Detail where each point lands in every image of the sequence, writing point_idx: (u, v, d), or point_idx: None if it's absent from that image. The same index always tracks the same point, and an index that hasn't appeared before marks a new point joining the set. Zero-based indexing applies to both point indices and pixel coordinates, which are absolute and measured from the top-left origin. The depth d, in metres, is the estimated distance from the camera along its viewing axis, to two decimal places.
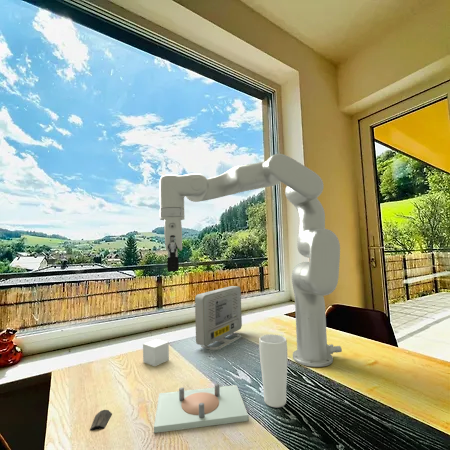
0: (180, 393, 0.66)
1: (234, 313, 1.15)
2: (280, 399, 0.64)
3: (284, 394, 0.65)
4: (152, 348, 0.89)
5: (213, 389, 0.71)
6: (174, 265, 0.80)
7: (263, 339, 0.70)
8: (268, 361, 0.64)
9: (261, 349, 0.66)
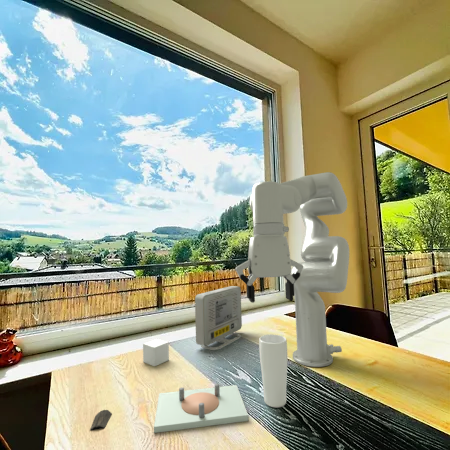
0: (180, 393, 0.66)
1: (234, 313, 1.15)
2: (280, 399, 0.64)
3: (284, 394, 0.65)
4: (152, 348, 0.89)
5: (213, 389, 0.71)
6: None
7: (263, 339, 0.70)
8: (268, 361, 0.64)
9: (261, 349, 0.66)
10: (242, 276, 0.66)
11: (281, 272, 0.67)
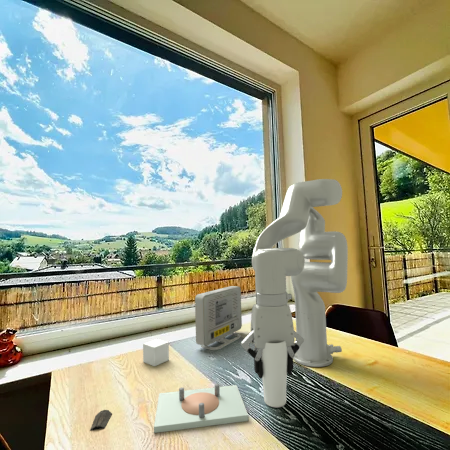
0: (180, 393, 0.66)
1: (234, 313, 1.15)
2: (280, 399, 0.64)
3: (284, 394, 0.65)
4: (152, 348, 0.89)
5: (213, 389, 0.71)
6: None
7: None
8: (268, 361, 0.64)
9: None
10: (250, 351, 0.65)
11: None
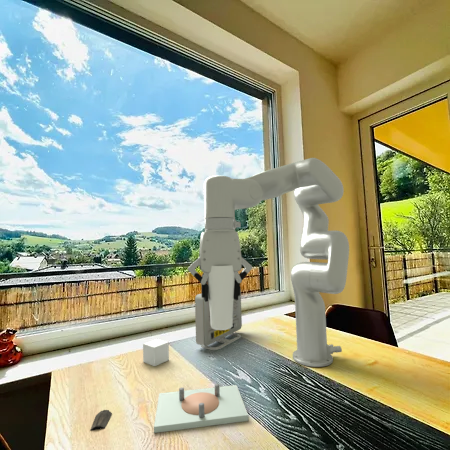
0: (180, 393, 0.66)
1: (234, 313, 1.15)
2: (225, 322, 0.64)
3: (229, 317, 0.65)
4: (152, 348, 0.89)
5: (213, 389, 0.71)
6: None
7: None
8: (213, 283, 0.64)
9: None
10: (196, 275, 0.65)
11: None
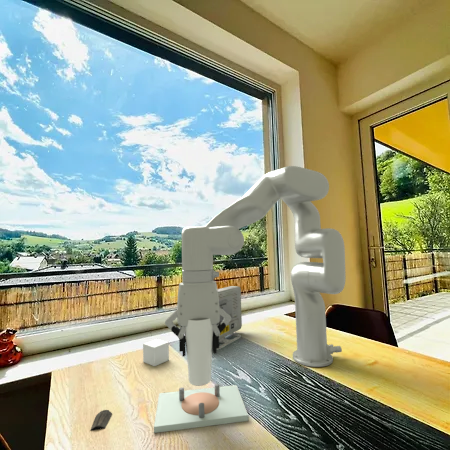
0: (180, 393, 0.66)
1: (234, 313, 1.15)
2: (202, 378, 0.63)
3: (207, 372, 0.63)
4: (152, 348, 0.89)
5: (213, 389, 0.71)
6: None
7: None
8: (190, 338, 0.63)
9: None
10: (173, 329, 0.64)
11: None
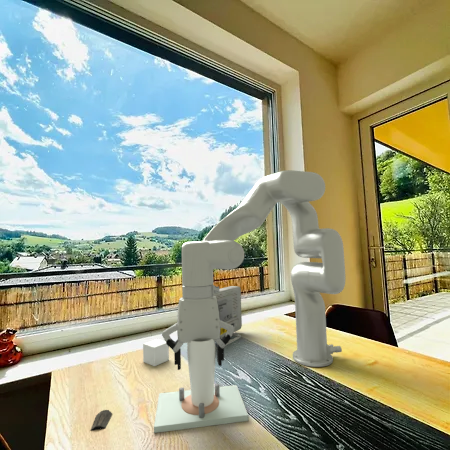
0: (180, 393, 0.66)
1: (234, 313, 1.15)
2: (205, 399, 0.62)
3: (210, 394, 0.63)
4: (152, 348, 0.89)
5: None
6: None
7: None
8: (193, 360, 0.63)
9: (188, 348, 0.64)
10: (168, 342, 0.64)
11: (209, 336, 0.64)
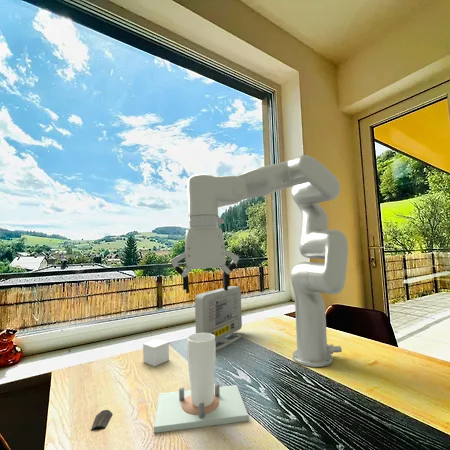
0: (180, 393, 0.66)
1: (234, 313, 1.15)
2: (205, 399, 0.62)
3: (210, 394, 0.63)
4: (152, 348, 0.89)
5: None
6: None
7: (194, 337, 0.68)
8: (193, 360, 0.63)
9: (188, 348, 0.64)
10: (177, 268, 0.68)
11: (215, 263, 0.68)
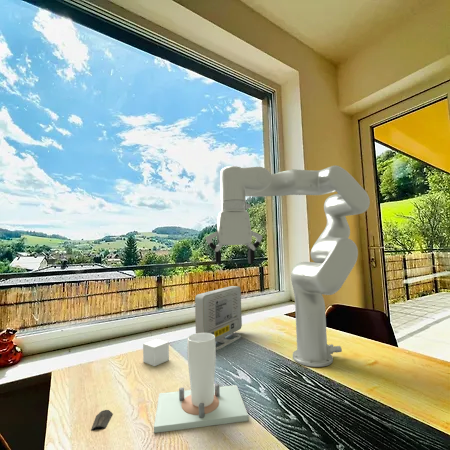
0: (180, 393, 0.66)
1: (234, 313, 1.15)
2: (205, 399, 0.62)
3: (210, 394, 0.63)
4: (152, 348, 0.89)
5: None
6: None
7: (194, 337, 0.68)
8: (193, 360, 0.63)
9: (188, 348, 0.64)
10: (211, 244, 0.81)
11: (243, 240, 0.81)
